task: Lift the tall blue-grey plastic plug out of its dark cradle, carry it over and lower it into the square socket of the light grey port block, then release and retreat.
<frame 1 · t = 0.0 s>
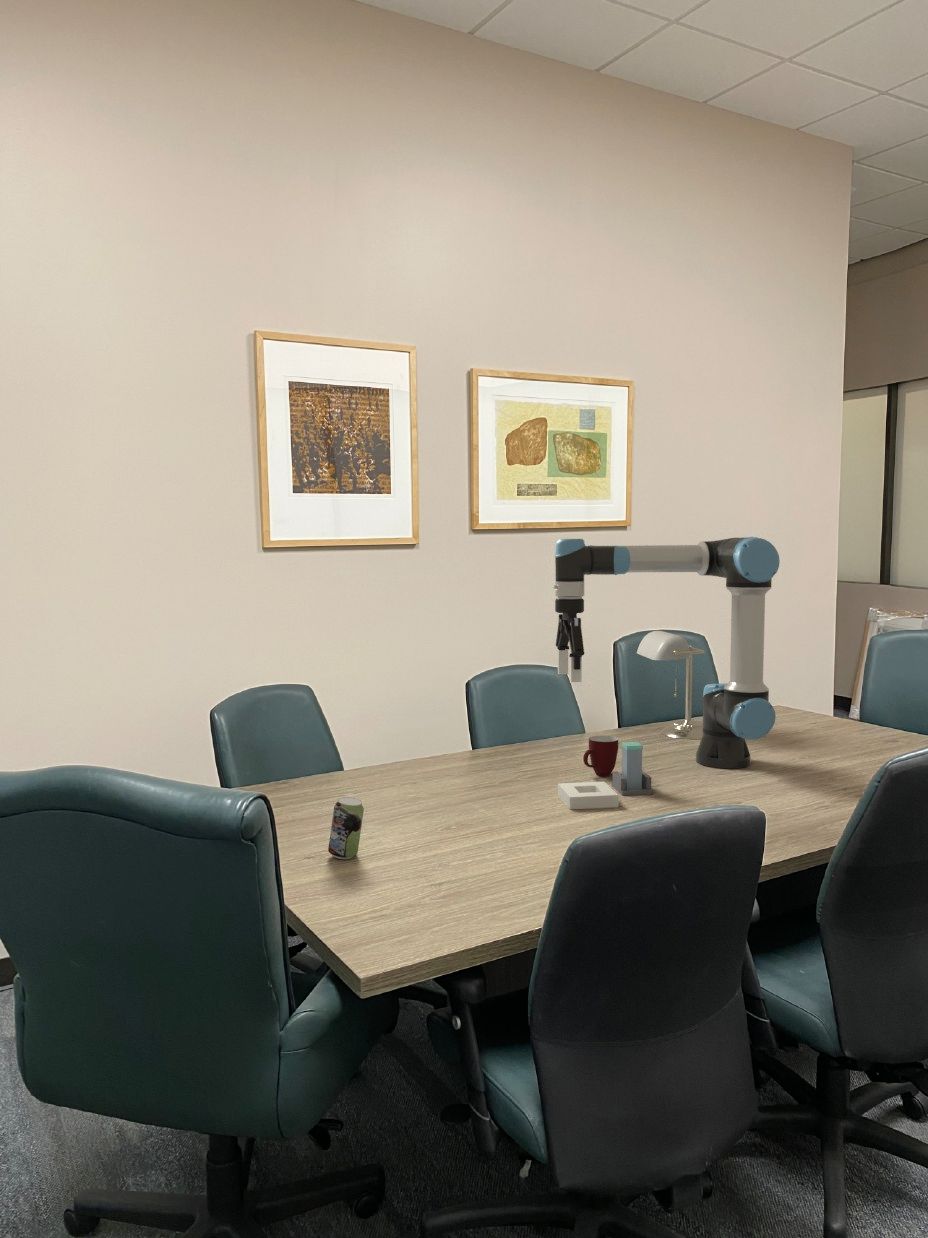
hand: (569, 678, 231), 28 cm above the table, fingers open, 13 cm apart
plug: (631, 789, 226), resting in holster
port: (587, 801, 216), on the table
holster: (631, 789, 226), on the table
mug: (600, 775, 240), on the table
beverage can: (346, 857, 179), on the table
lamp: (678, 734, 292), on the table
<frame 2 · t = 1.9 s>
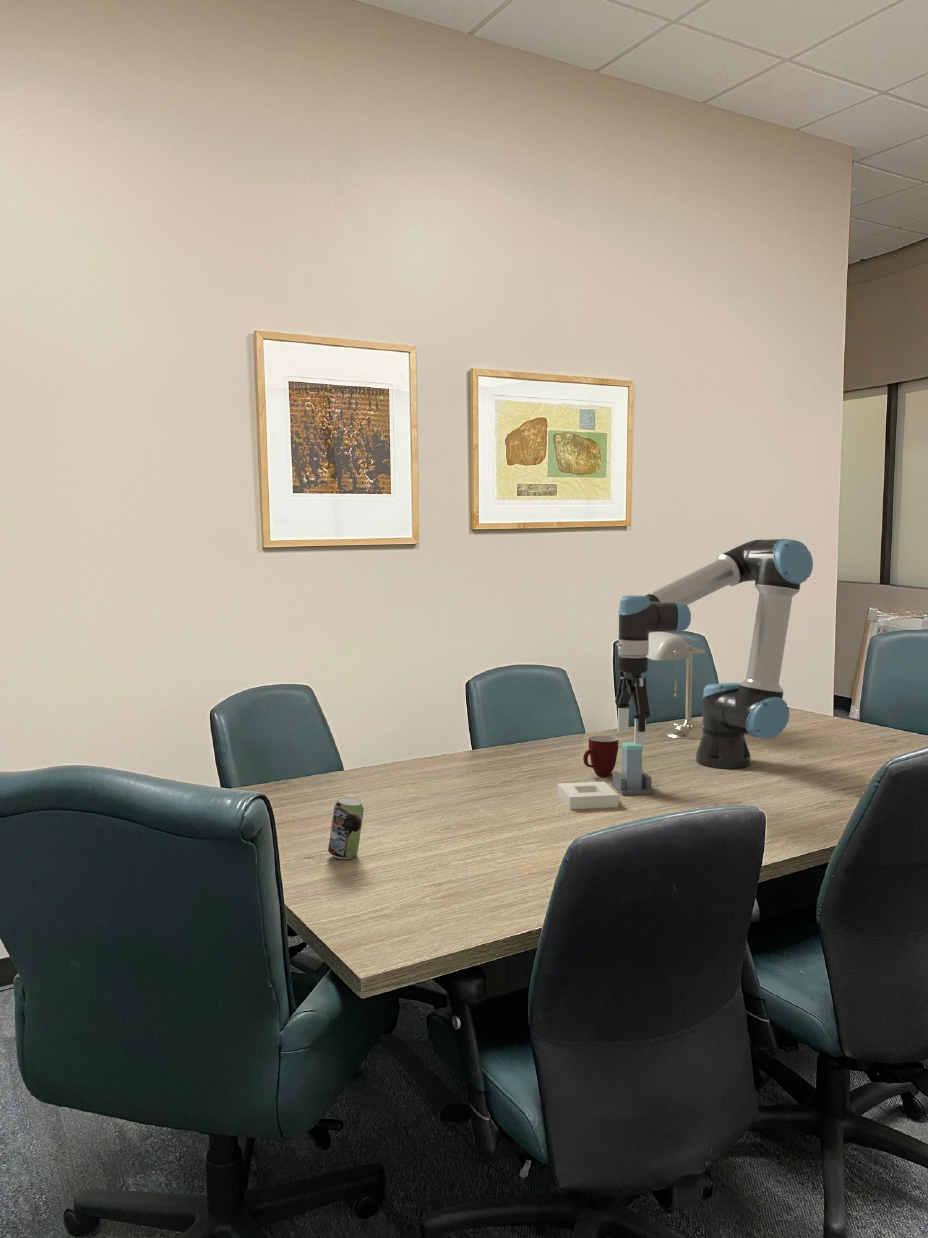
hand: (631, 738, 225), 13 cm above the table, fingers open, 13 cm apart
nothing on the table moved.
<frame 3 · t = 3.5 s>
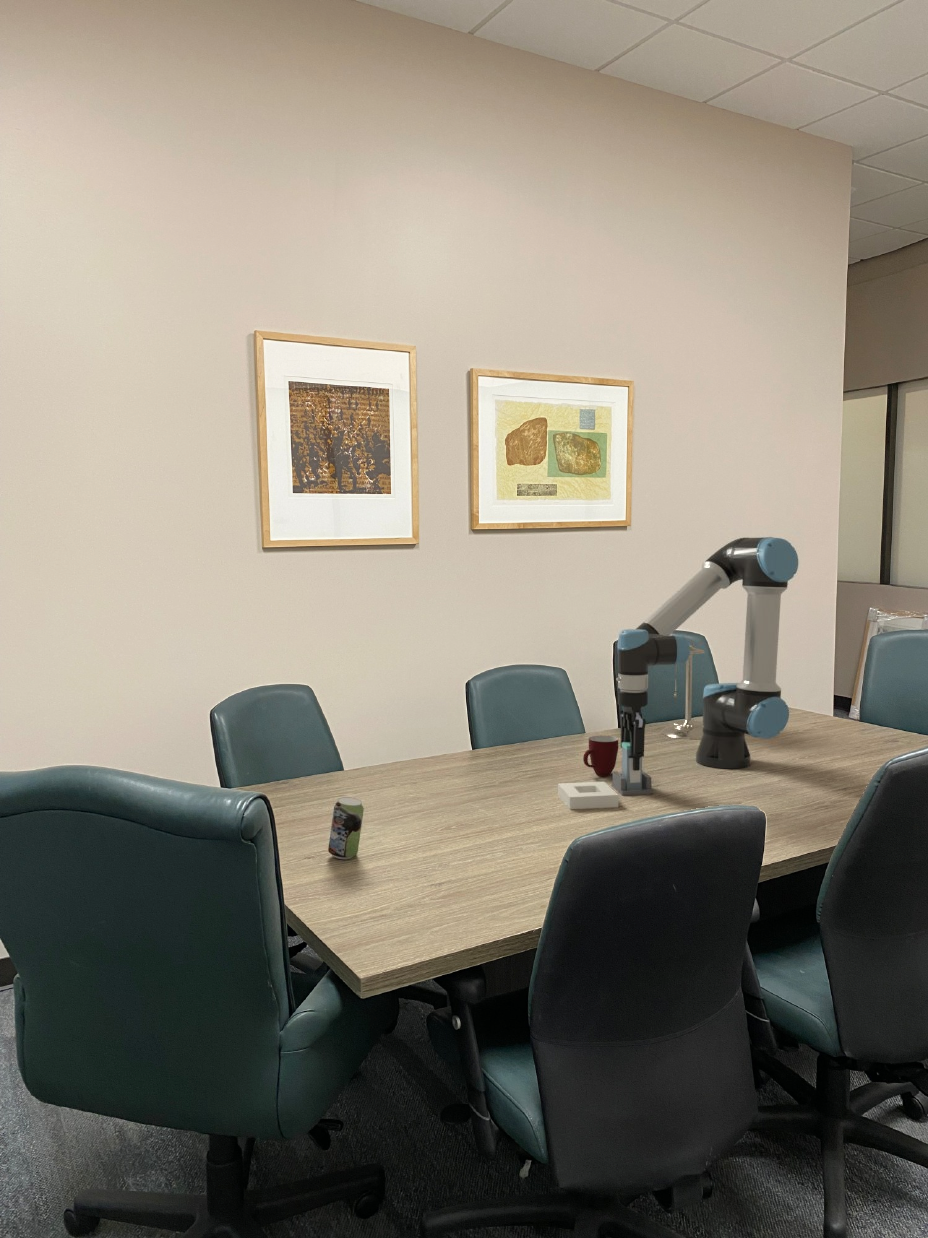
hand: (631, 779, 226), 3 cm above the table, fingers closed on plug, 4 cm apart
plug: (631, 789, 226), resting in holster, touching gripper
everything else where it was.
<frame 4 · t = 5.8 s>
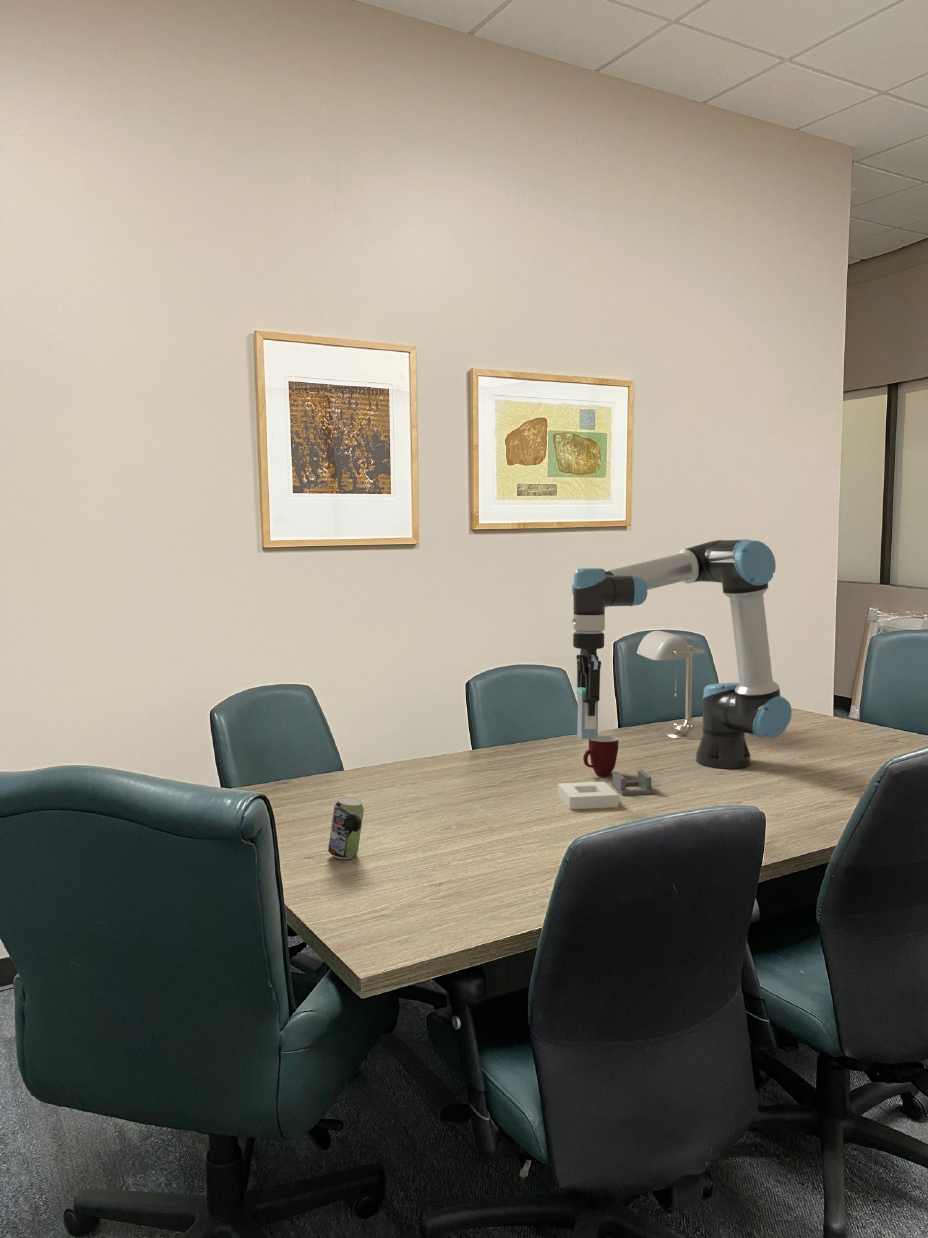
hand: (587, 726, 215), 19 cm above the table, fingers closed on plug, 4 cm apart
plug: (587, 737, 215), point 16 cm above the table, touching gripper
everything else where it was.
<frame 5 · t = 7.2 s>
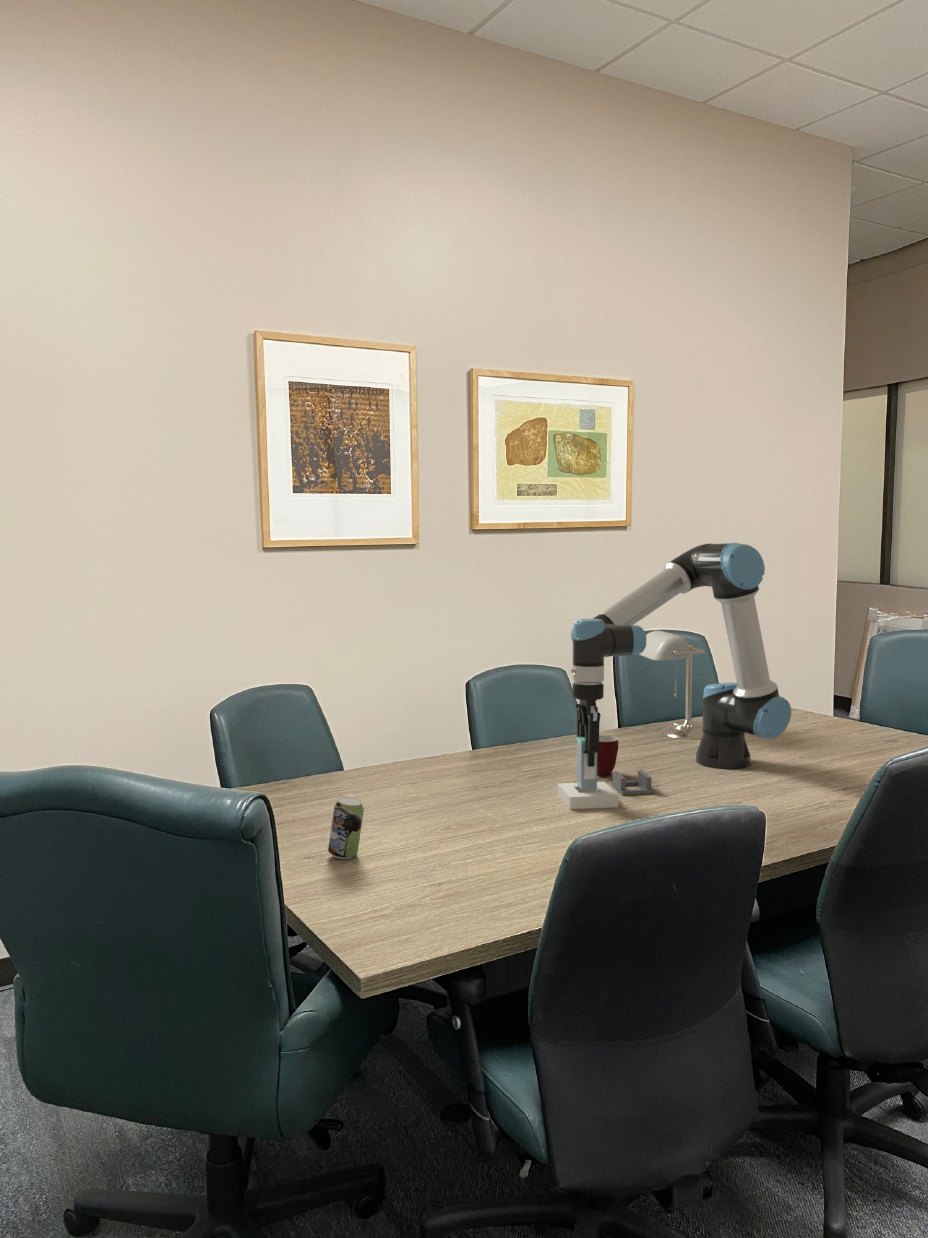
hand: (587, 776, 216), 6 cm above the table, fingers closed on plug, 4 cm apart
plug: (586, 786, 216), point 4 cm above the table, touching gripper
everything else where it was.
when the fingers open (4 cm above the table, at t = 8.4 s): plug drops 2 cm, resting in port.
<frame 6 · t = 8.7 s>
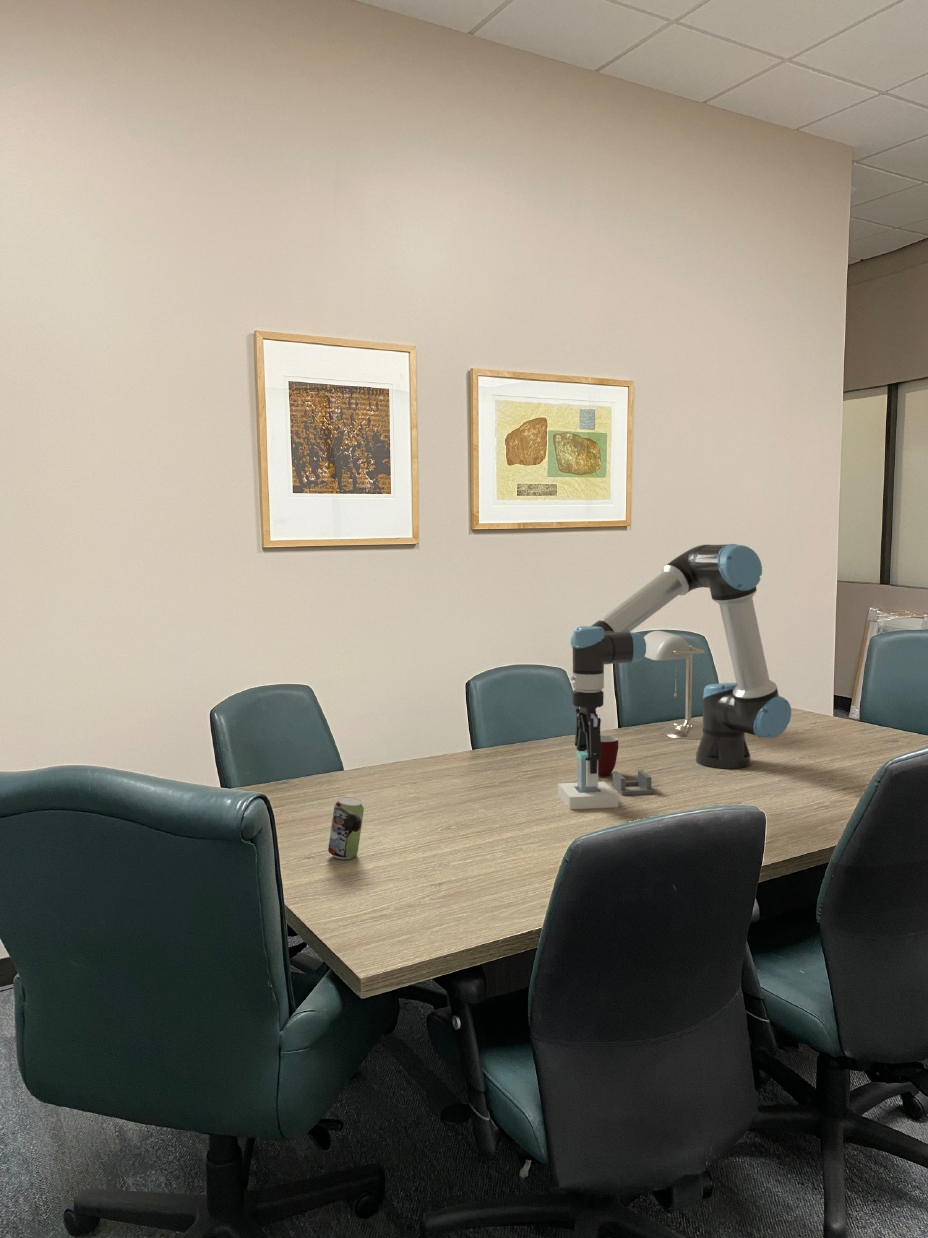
hand: (587, 781, 216), 5 cm above the table, fingers open, 8 cm apart
plug: (587, 801, 216), resting in port
everything else where it was.
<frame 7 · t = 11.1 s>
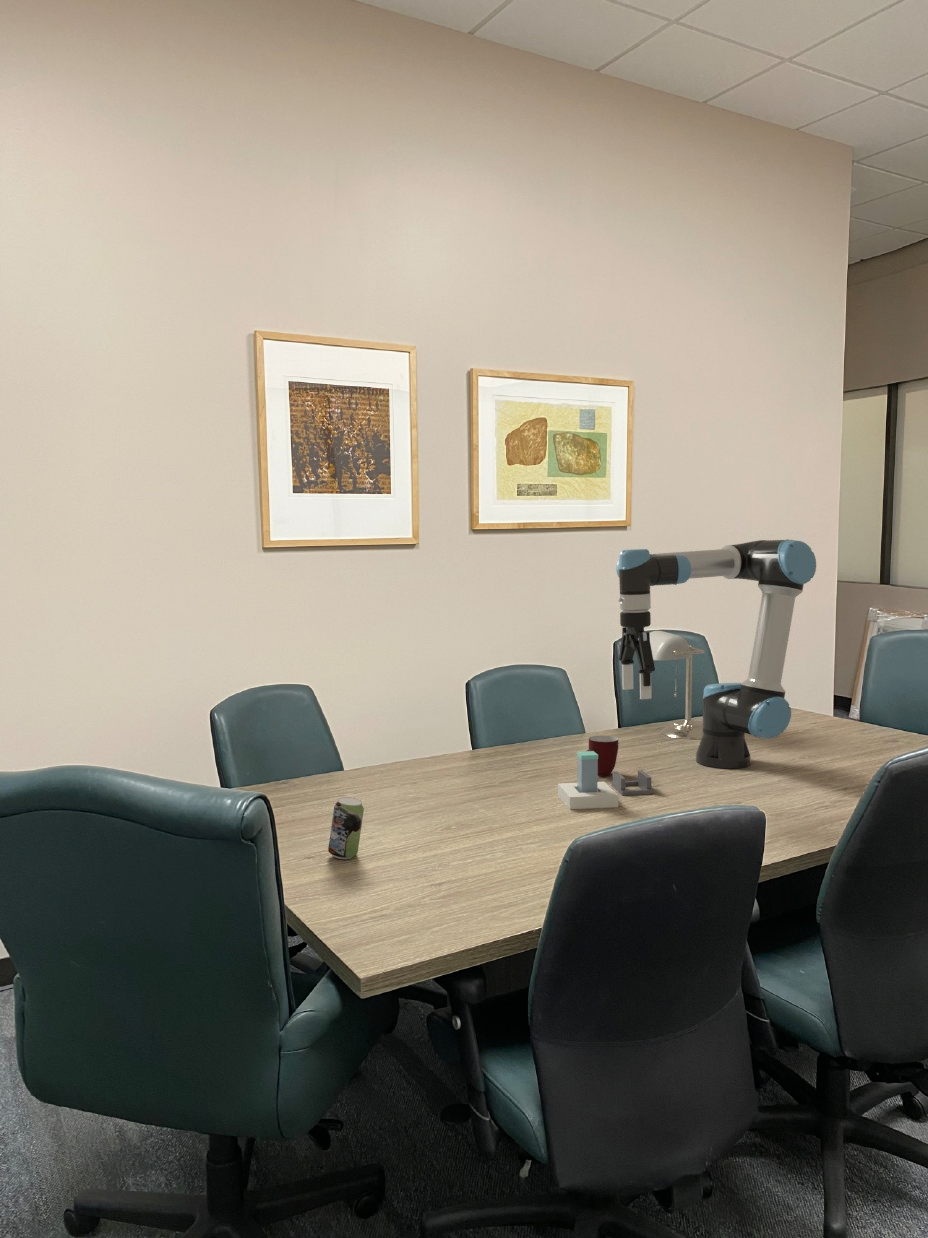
hand: (636, 694, 222), 25 cm above the table, fingers open, 13 cm apart
nothing on the table moved.
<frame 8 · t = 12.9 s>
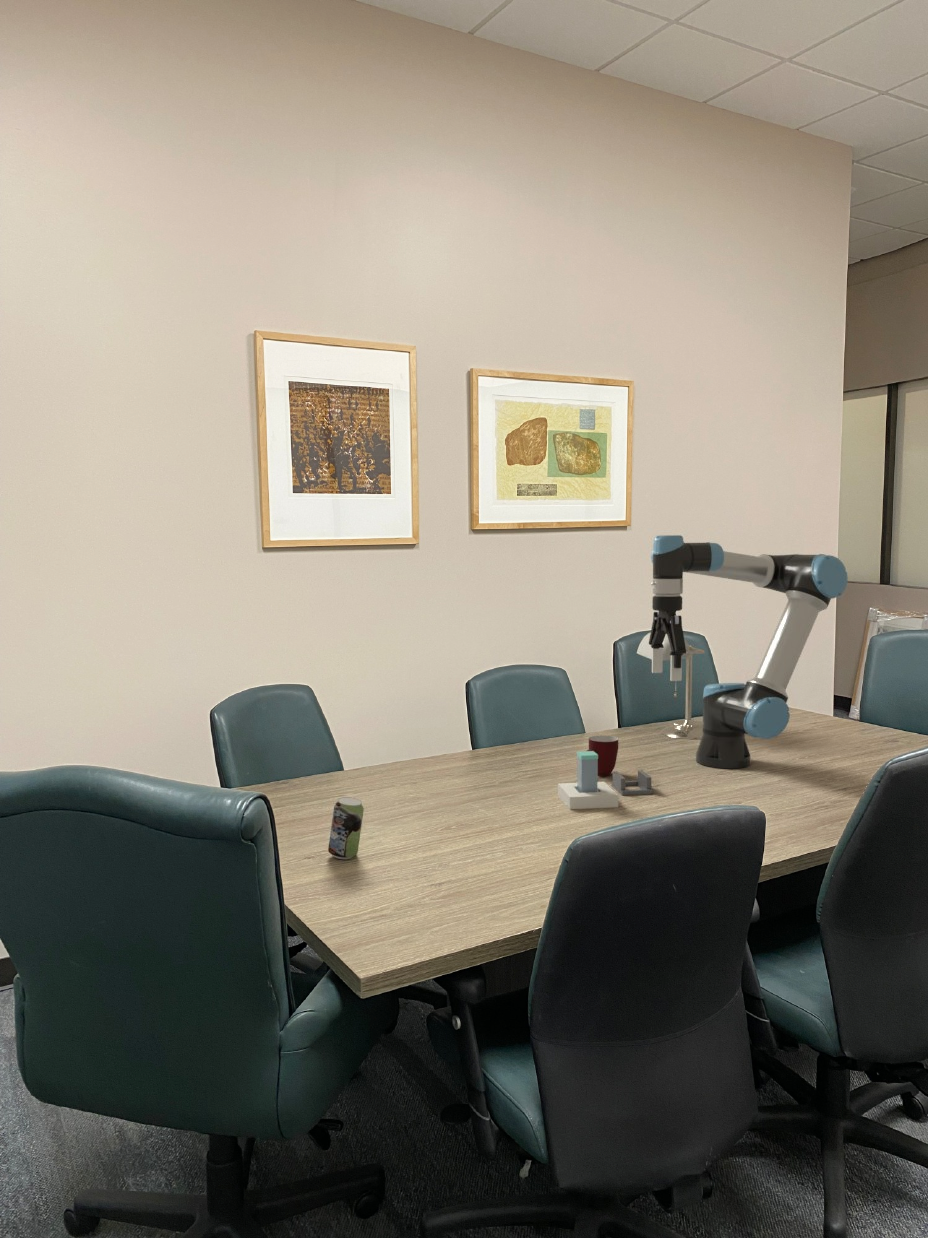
hand: (666, 676, 228), 29 cm above the table, fingers open, 13 cm apart
nothing on the table moved.
at the end: plug 0.1 cm off-centre on the port, point 0.0 cm above the port's base; plug tilted 0°; the gripper is holding nothing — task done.
